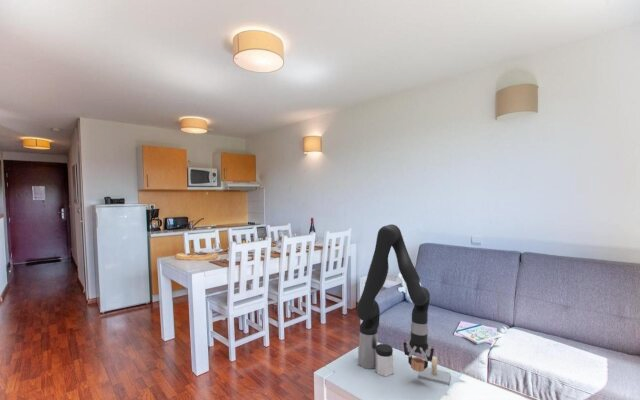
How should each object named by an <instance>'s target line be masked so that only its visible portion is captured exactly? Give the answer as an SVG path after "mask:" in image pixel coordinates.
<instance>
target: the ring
mask: <svg viewBox="0 0 640 400" xmlns="http://www.w3.org/2000/svg"><path fill="white" fill-rule="evenodd" d="M424 361H425V359H424V358H422V357H420V356H419V357H418V356H412V360H411V365H410V368H411V370H413V371H415V372H419V371H420V372H421V371H424V370H425V369H424Z"/></svg>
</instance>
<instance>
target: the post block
mask: <svg viewBox="0 0 640 400" xmlns="http://www.w3.org/2000/svg"><path fill="white" fill-rule="evenodd" d="M417 378H418V379H422V380H426V381H430V382H435V383H438V384H441V385H442V384H443V385H446V386H450V384H451V383H450V381H451V372H449V371H445V370H440V369H438V358H437V356H435V355H433V357H432V361H431V368H430V367H427V368H426V369H425V370H424V371H421V372H420V371H418V373H417Z"/></svg>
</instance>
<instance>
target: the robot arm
mask: <svg viewBox="0 0 640 400" xmlns="http://www.w3.org/2000/svg"><path fill="white" fill-rule="evenodd" d="M391 249H393V251H394V253H395V254H394V255H395V256H396V260H397V266H398V270H399V272H400V274H401V277H402V279H403V281H404V283H405V285H406V289H407V293H408V297H409V298H410V300H411V301H412V303H413V304H414V305H413V308H412V310H411V311H412V312H411V324H410V340H409V341H407V340H404V341H403V351H404V356H407V358H408V360H407V361H408V364H409V366H411V360H412V357H413V354H414V353H416V354H417V353H418V354H421V355H422V357H423V359H424V360H425V361H424V369H426V368H429V362H432V357H433V356H434V351H435V347H434V346H430V345H429V344H428V334H429V326H428V320H429V319H428V317H429V315H428V312H429V307H430V297H431V296H430V291H429V290H428V289H427V288H426V287H424V286H421V284H420V282H421V277H420V275H419V273H418V271H417V269H416V267H415V266H414V263H413V262H412V259H411V257H410V255H409V252H408V250H407V246H406V244H405V240H404V238H403V235H402V230H401V229H400V227H398V226H397V225H396V224H387V225H384V226H382V227H380V228H379V229H378V231H377V235H376V242H375V248H374V251H373V255H372V259H371V262H370V265H369V268H368V271H367V272H368V273H367V276H366V280H365V282H364V287H363V290H362V293H361V295H360V298H359V301H358V303H357V306H356V314H357V317H358V319H359V320H361V321H362V322H361V323H360V325H359V345H358V348H357V349H358V351H357V352H358V357H357V358H358V359H357V360H358V361H357V363H358V366H360V367H362V368H364V369H368V370H369V369H370V370H373V369H376V346H377V345H379V344H378V341H379V340H378V337H379V336H378V329H379V327H380V315H381V314H380V313H381V312H380V311H381V310H380V305H379V304H378V302H377V301H376V300H375V299H376V298H377V295H378V294H379V293H380V291H381V290H382V288H383V286H384V285H385V283H386V279H387V276H388V274H389V255H390V252H391ZM409 346H410V348H411V350H410V351H409V350H408V347H409ZM427 350H428V351H429V356H428V353H427Z"/></svg>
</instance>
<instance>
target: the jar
mask: <svg viewBox="0 0 640 400" xmlns="http://www.w3.org/2000/svg"><path fill="white" fill-rule="evenodd" d="M393 351H394V350H393V347H392V345H390V344H387V343H386V344H385V343H379V344H378V345H377V346H376V368H375V371H376V373H377V374H378V375H379V376H385V377H389V376H391V375H393V374H394V353H393Z"/></svg>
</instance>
